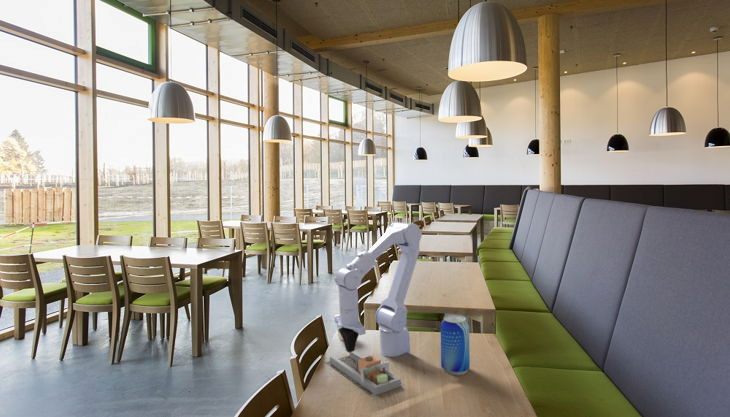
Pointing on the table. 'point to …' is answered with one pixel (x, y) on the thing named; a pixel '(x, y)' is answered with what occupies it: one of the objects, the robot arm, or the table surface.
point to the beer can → (455, 345)
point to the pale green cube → (382, 378)
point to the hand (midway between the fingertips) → (350, 351)
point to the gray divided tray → (369, 385)
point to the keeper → (368, 362)
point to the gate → (366, 370)
